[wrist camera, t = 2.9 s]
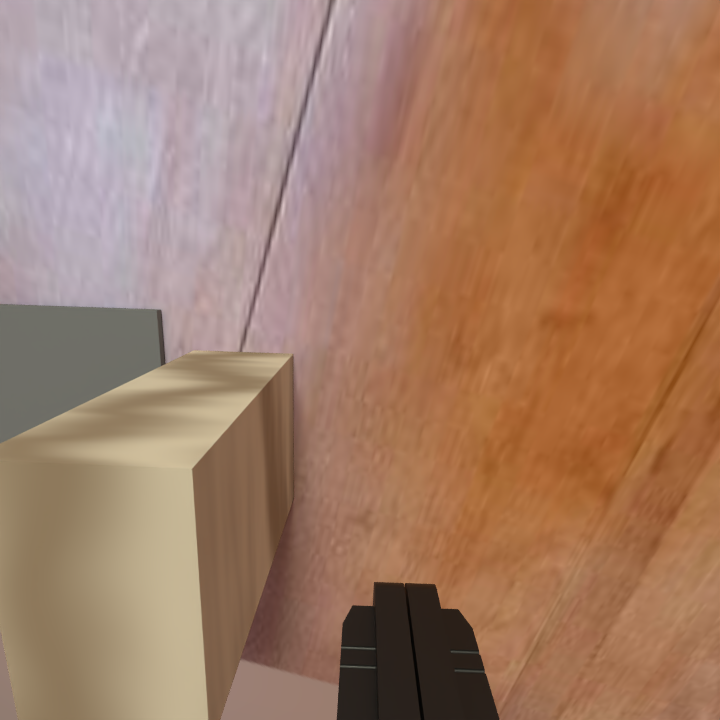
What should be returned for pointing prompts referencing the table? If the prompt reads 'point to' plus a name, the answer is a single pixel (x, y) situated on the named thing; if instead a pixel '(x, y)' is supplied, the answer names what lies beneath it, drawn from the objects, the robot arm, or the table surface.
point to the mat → (69, 358)
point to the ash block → (145, 539)
